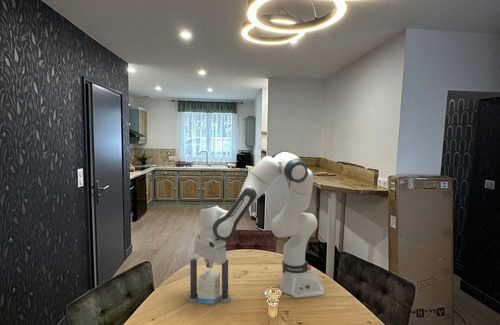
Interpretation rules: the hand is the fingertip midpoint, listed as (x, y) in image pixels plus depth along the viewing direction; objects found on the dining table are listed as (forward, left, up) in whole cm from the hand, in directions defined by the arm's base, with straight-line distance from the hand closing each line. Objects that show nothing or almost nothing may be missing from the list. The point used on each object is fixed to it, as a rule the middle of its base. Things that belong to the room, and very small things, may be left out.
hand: (209, 267), depth 130 cm
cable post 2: (-7, 0, -16) cm, 17 cm away
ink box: (0, 0, -16) cm, 16 cm away
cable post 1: (+8, 0, -16) cm, 17 cm away
